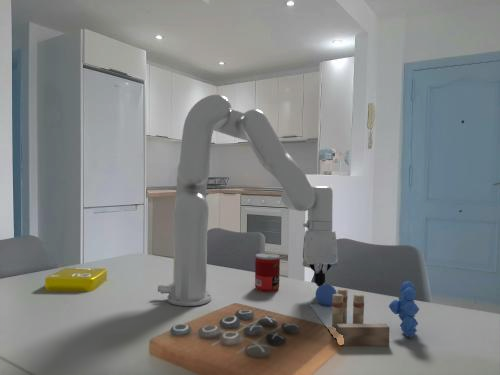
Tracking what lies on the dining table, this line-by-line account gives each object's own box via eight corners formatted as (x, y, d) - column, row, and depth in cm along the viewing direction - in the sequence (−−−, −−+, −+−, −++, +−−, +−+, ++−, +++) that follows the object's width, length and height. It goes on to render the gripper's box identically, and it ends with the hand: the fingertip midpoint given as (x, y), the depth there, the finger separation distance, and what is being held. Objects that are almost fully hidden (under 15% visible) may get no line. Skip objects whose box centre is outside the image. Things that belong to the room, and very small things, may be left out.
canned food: (277, 293, 120) (278, 258, 120) (252, 291, 122) (253, 256, 122) (280, 286, 128) (281, 253, 127) (257, 284, 129) (257, 252, 129)
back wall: (338, 345, 81) (339, 327, 81) (336, 342, 83) (336, 323, 83) (389, 345, 82) (389, 327, 82) (385, 341, 84) (385, 323, 84)
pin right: (354, 333, 89) (355, 296, 88) (350, 329, 91) (351, 293, 91) (365, 333, 89) (366, 296, 89) (361, 329, 91) (362, 293, 91)
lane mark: (334, 339, 85) (334, 338, 85) (310, 304, 109) (310, 304, 109) (373, 339, 85) (373, 338, 85) (341, 304, 109) (341, 304, 109)
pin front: (338, 326, 93) (339, 291, 93) (335, 322, 95) (336, 288, 95) (348, 326, 93) (349, 291, 93) (345, 322, 96) (345, 288, 95)
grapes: (386, 322, 96) (387, 275, 96) (415, 326, 94) (416, 277, 94) (389, 340, 85) (390, 286, 85) (422, 344, 83) (424, 289, 83)
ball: (318, 308, 105) (318, 287, 105) (313, 302, 111) (313, 281, 111) (339, 308, 106) (340, 287, 106) (333, 302, 112) (333, 281, 112)
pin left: (333, 333, 88) (334, 296, 88) (330, 329, 91) (331, 293, 91) (343, 333, 88) (344, 296, 88) (340, 329, 91) (341, 293, 91)
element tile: (108, 280, 132) (108, 267, 132) (92, 293, 117) (92, 277, 117) (64, 280, 132) (64, 266, 132) (42, 292, 117) (42, 277, 117)
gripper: (298, 227, 114) (298, 289, 114) (347, 227, 115) (347, 288, 115) (293, 224, 121) (293, 282, 121) (340, 224, 122) (339, 281, 122)
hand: (319, 285), depth 118 cm, fingers closed
